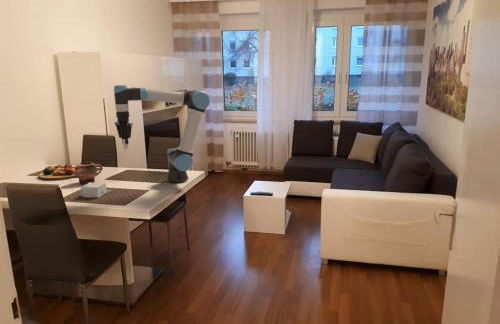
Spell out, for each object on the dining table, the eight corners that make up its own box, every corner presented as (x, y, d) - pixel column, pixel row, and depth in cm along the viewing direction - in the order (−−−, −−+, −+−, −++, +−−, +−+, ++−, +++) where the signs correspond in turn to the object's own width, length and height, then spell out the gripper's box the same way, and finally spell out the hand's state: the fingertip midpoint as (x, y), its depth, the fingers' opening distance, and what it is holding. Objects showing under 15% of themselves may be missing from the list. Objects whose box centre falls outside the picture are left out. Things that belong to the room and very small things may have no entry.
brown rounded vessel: (98, 178, 278) (96, 159, 275) (107, 180, 270) (105, 161, 267) (71, 183, 263) (68, 164, 260) (79, 187, 255) (76, 166, 252)
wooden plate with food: (89, 176, 283) (88, 165, 282) (40, 182, 266) (39, 171, 265) (81, 169, 310) (80, 159, 308) (36, 174, 292) (35, 164, 291)
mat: (114, 190, 246) (113, 190, 246) (90, 198, 230) (90, 198, 230) (102, 188, 251) (101, 188, 251) (78, 195, 235) (78, 195, 235)
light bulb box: (107, 192, 241) (91, 192, 242) (105, 182, 239) (89, 182, 241) (98, 197, 231) (81, 197, 232) (97, 187, 229) (80, 187, 230)
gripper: (134, 110, 231) (138, 148, 236) (119, 110, 237) (122, 147, 242) (125, 111, 225) (129, 151, 230) (109, 111, 231) (113, 149, 236)
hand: (125, 149), depth 236 cm, fingers closed
